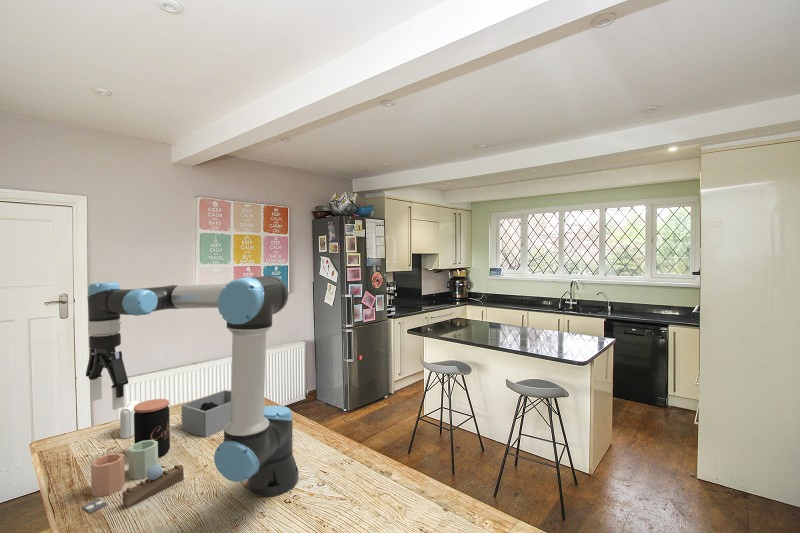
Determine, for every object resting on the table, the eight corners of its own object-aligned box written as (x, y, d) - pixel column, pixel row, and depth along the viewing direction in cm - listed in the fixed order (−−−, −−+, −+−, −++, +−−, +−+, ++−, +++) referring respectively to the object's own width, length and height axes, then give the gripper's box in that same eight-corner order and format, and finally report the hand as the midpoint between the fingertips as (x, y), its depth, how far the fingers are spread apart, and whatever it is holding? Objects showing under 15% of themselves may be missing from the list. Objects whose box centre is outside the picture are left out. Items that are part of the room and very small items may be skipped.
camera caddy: (249, 418, 167) (248, 395, 167) (204, 437, 149) (204, 412, 149) (225, 411, 175) (225, 389, 174) (181, 429, 157) (180, 404, 157)
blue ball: (165, 477, 115) (165, 464, 115) (151, 484, 112) (151, 470, 112) (157, 473, 117) (157, 460, 117) (143, 480, 114) (143, 467, 114)
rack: (183, 479, 121) (183, 465, 121) (127, 508, 107) (126, 492, 107) (179, 477, 122) (178, 463, 122) (122, 506, 108) (122, 489, 108)
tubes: (170, 474, 124) (169, 446, 124) (90, 513, 105) (89, 481, 105) (149, 464, 130) (149, 438, 130) (70, 499, 111) (69, 469, 111)
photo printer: (131, 428, 158) (130, 398, 158) (142, 427, 159) (142, 397, 159) (118, 439, 148) (118, 407, 148) (131, 438, 149) (130, 406, 149)
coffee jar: (153, 463, 131) (152, 411, 130) (126, 460, 133) (125, 408, 132) (177, 448, 141) (176, 399, 141) (152, 445, 143) (151, 397, 143)
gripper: (140, 335, 112) (142, 407, 113) (99, 328, 125) (101, 393, 125) (111, 340, 106) (113, 416, 106) (71, 332, 118) (73, 400, 119)
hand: (107, 403), depth 116 cm, fingers open, 13 cm apart
